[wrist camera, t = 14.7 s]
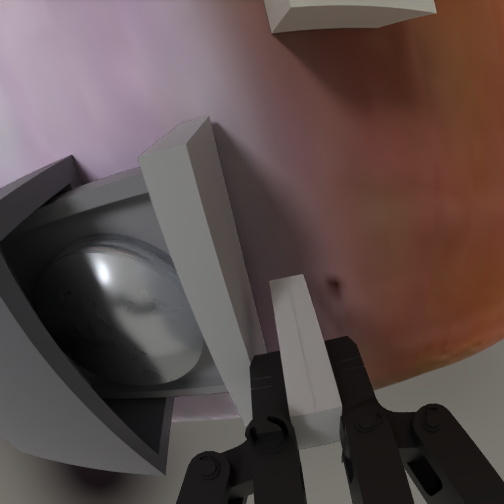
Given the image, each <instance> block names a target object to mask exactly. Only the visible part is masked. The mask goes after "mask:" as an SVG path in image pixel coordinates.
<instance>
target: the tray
mask: <svg viewBox="0 0 504 504" xmlns="http://www.w3.org/2000/svg"><path fill="white" fill-rule="evenodd" d="M138 161H139V164H140V167H137V168H133V169H130V170H127V171H124V172H120V173H117V174H114V175H111V176H108V177H105V178H102V179H99V180H96V181H93V182H90V183H87V184H84V185H82V186H79V187H76V188H73V189H71V190H68V191H65V192H63V193H60V194H57V195H55V196H52V197H51V198H50V199H49V200H47V201H46V202H45V203H44V204H42V205H41V206H40V207H39V208H38V209H36V210H35V211H34V212H33V213H32V214H30V215H29V216H28V217H27V218H26V219H25V220H23V221H22V222H21V223H20V224H19V225H18V226H17V227H16V228H14V229H13V230H12V231H11V232H10V233H9V234H8V235H7V236H6V237H5V238H4V239H2V240H1V241H0V252H1V254H2V256H3V258H4V260H5V262H6V264H7V266H8V268H9V270H10V271H11V273H12V275H13V277H14V279H15V280H16V282H17V284H18V286H19V287H20V289H21V291H22V292H23V294H24V296H25V297H26V299H27V301H28V302H29V304H30V305H31V307H32V309H33V310H34V312H35V313H36V315H37V316H38V318H39V319H40V321H41V318H40V315H39V312H38V307H37V289H38V285H39V282H40V280H41V278H42V276H43V274H44V273H45V272H46V270H47V269H48V268H49V266H50V265H51V264H52V263H53V261H54V260H55V259H56V258H57V256H58V255H59V254H60V253H61V251H62V250H63V249H64V248H66V247H67V246H68V245H69V244H70V243H72V242H74V241H75V240H77V239H80V238H82V237H85V236H89V235H93V234H103V233H110V234H121V235H126V236H130V237H134V238H137V239H140V240H143V241H145V242H147V243H149V244H152V245H154V246H156V247H157V248H159V249H161V250H162V251H164V252H166V253H167V254H168V255H170V256H171V258H172V260H173V263H174V266H175V268H176V271H177V273H178V276H179V279H180V281H181V284H182V286H183V289H184V291H185V294H186V296H187V299H188V301H189V304H190V306H191V309H192V311H193V314H194V316H195V318H196V321H197V323H198V325H199V328H200V330H201V333H202V335H203V337H204V340H203V348H202V353H201V355H200V358H199V360H198V362H197V363H196V364H195V366H194V367H193V368H192V369H191V370H190V371H189V372H188V373H186V374H185V375H184V376H182V377H180V378H178V379H176V380H174V381H171V382H168V383H164V384H159V385H147V386H141V385H130V384H124V383H119V382H115V381H112V380H109V379H106V378H103V377H101V376H99V375H96V374H94V373H92V372H90V371H88V370H87V369H85V368H83V367H82V366H80V365H79V364H77V363H76V362H74V361H73V360H72V359H71V358H69V357H68V356H67V355H66V354H65V353H64V352H63V351H62V350H61V351H62V352H63V353H64V355H65V356H66V357H67V358H68V360H69V361H70V362H71V364H72V365H73V366H74V367H75V369H76V370H77V371H78V372H79V374H80V375H81V376H82V377H83V378H84V380H85V381H86V382H87V383H88V384H89V385H90V387H91V388H92V389H93V390H94V391H95V392H96V393H97V395H98V396H99V397H100V398H101V399H132V398H161V397H178V396H191V395H203V394H213V393H222V392H229V394H230V396H231V399H232V401H233V403H234V405H235V407H236V409H237V411H238V413H239V415H240V417H241V419H242V421H243V423H244V425H245V427H247V426H248V424H249V423H250V421H251V420H252V403H251V386H250V369H249V367H250V364H251V362H252V360H253V357H254V355H259V354H265V353H267V349H266V346H265V342H264V338H263V334H262V330H261V326H260V322H259V318H258V314H257V310H256V306H255V302H254V298H253V294H252V290H251V286H250V282H249V278H248V274H247V270H246V266H245V262H244V258H243V254H242V250H241V245H240V241H239V237H238V233H237V229H236V225H235V221H234V217H233V213H232V209H231V205H230V200H229V196H228V192H227V188H226V184H225V180H224V176H223V171H222V167H221V163H220V159H219V155H218V150H217V146H216V142H215V138H214V134H213V129H212V125H211V121H210V117H209V116H206V117H202V118H198V119H194V120H190V121H186V122H183V123H181V124H180V125H178V126H177V127H176V128H174V129H173V130H172V131H170V132H169V133H168V134H166V135H165V136H164V137H162V138H161V139H160V140H159V141H157V142H156V143H155V144H153V145H152V146H151V147H150V148H148V149H147V150H146V151H145V152H144V153H142V154H141V155H140V156H139V157H138ZM41 322H42V321H41ZM42 324H43V323H42Z"/></svg>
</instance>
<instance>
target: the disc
mask: <svg viewBox="0 0 504 504" xmlns="http://www.w3.org/2000/svg"><path fill="white" fill-rule="evenodd" d="M37 307H38V312H39V315H40V318H41V321H42V323H43V325H44V327H45V328H46V330H47V331H48V333H49V334H50V335H51V337H52V338H53V340H54V341H55V342H56V344H57V345H58V347H59V348H60V349H61V350H62V351H63V352H64V353H65V354H66V355H67V356H68V357H69V358H71V359H72V360H73V361H74V362H76V363H77V364H79V365H80V366H82V367H83V368H85V369H87V370H88V371H90V372H92V373H94V374H96V375H99V376H101V377H103V378H106V379H109V380H112V381H115V382H119V383H124V384H130V385H141V386H147V385H159V384H164V383H168V382H171V381H174V380H176V379H178V378H180V377H182V376H184V375H185V374H186V373H188V372H189V371H190V370H191V369H192V368H193V367H194V366H195V364H196V363H197V362H198V360H199V358H200V355H201V353H202V348H203V340H204V337H203V335H202V333H201V330H200V328H199V325H198V323H197V321H196V318H195V316H194V314H193V311H192V309H191V306H190V304H189V301H188V299H187V296H186V294H185V291H184V289H183V286H182V284H181V281H180V279H179V276H178V273H177V271H176V268H175V266H174V263H173V260H172V258H171V256H170V255H168V254H167V253H166V252H164V251H162V250H161V249H159V248H157V247H156V246H154V245H152V244H149V243H147V242H145V241H143V240H140V239H137V238H134V237H130V236H126V235H121V234H110V233H103V234H93V235H89V236H85V237H82V238H80V239H77V240H75V241H74V242H72V243H70V244H69V245H68V246H67V247H66V248H64V249H63V250H62V251H61V253H60V254H59V255H58V256H57V258H56V259H55V260H54V261H53V263H52V264H51V265H50V266H49V268H48V269H47V270H46V272H45V273H44V274H43V276H42V278H41V280H40V282H39V285H38V289H37Z"/></svg>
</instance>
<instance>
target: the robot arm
mask: <svg viewBox="0 0 504 504" xmlns="http://www.w3.org/2000/svg"><path fill="white" fill-rule="evenodd" d="M269 284H270V290H271V296H272V302H273V309H274V315H275V322H276V328H277V334H278V341H279V347H280V351H276V352H271V353H265V354H259V355H254V357H253V360H252V362H251V364H250V367H249V369H250V386H251V403H252V420H251V421H250V423H249V424H248V426H247V427H246V432H245V436H246V438H247V440H246V441H245V442H244V443H243V444H241V445H239V446H238V447H235V448H233V449H231V450H228V451H225V452H223V453H218V452H215V451H205V452H202V453H200V454H198V455H196V456H195V457H194V458H193V459H192V460H191V462H190V464H189V466H188V468H187V471H186V474H185V478H184V481H183V484H182V487H181V490H180V493H179V496H178V499H177V502H176V504H246V502H247V497H248V495H251V494H253V493H254V502H255V504H307V501H306V493H305V486H304V480H303V473H302V467H301V462H300V456H299V450H300V449H306V448H311V447H316V446H321V445H325V444H330V443H334V442H338V441H340V440H341V444H342V449H343V450H342V462H344V465H345V470H346V475H347V479H348V484H349V489H350V494H351V499H352V503H353V504H414V501H413V497H412V494H411V490H410V487H409V483H408V480H407V476H406V473H405V470H406V471H407V473H408V474H409V476H410V477H411V479H412V481H413V482H414V483H415V485H416V487H417V488H418V490H419V491H420V493H421V494H422V496H423V498H424V499H425V501H426V502H427V504H504V482H503V480H502V479H501V478H500V476H499V475H498V474H497V472H496V471H495V469H494V468H493V467H492V466H491V464H490V463H489V461H488V460H487V459H486V457H485V456H484V455H483V453H482V452H481V451H480V450H479V448H478V447H477V446H476V444H475V443H474V442H473V440H472V439H471V438H470V437H469V435H468V434H467V433H466V431H465V430H464V429H463V428H462V426H461V425H460V424H459V423H458V422H457V420H456V419H455V418H454V416H453V415H452V414H451V413H450V411H449V410H448V409H446V408H445V407H444V406H442V405H439V404H427V405H425V406H423V407H421V408H420V409H419V410H418V411H417V412H392V411H389V410H386V409H385V408H383V407H382V406H381V405H380V404H379V403H378V401H377V399H376V397H375V394H374V391H373V388H372V385H371V383H370V380H369V377H368V374H367V372H366V369H365V367H364V364H363V361H362V358H361V356H360V353H359V350H358V348H357V345H356V344H355V343H354V342H353V341H352V340H351V339H350V338H349V337H348V336H344V337H340V338H336V339H331V340H327V341H324V340H323V337H322V333H321V330H320V327H319V323H318V320H317V317H316V313H315V310H314V307H313V304H312V300H311V297H310V294H309V291H308V288H307V285H306V281H305V278H304V275H303V274H300V275H295V276H290V277H285V278H280V279H275V280H270V281H269ZM404 468H405V470H404Z"/></svg>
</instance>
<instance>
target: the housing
mask: <svg viewBox="0 0 504 504" xmlns="http://www.w3.org/2000/svg"><path fill="white" fill-rule="evenodd" d="M79 186H82V183H81V181H80V178H79V175H78V172H77V169H76V166H75V163H74V160H73V157H72V155H70V156H68V157H65V158H63V159H61V160H58V161H56V162H54V163H52V164H49V165H47V166H45V167H43V168H41V169H38V170H36V171H34V172H32V173H30V174H28V175H26V176H24V177H22V178H20V179H18V180H16V181H14V182H12V183H10V184H8V185H6V186H4V187H3V188H1V189H0V241H1V240H2V239H4V238H5V237H6V236H7V235H8V234H9V233H10V232H11V231H12V230H13V229H14V228H16V227H17V226H18V225H19V224H20V223H21V222H22V221H23V220H25V219H26V218H27V217H28V216H29V215H30V214H32V213H33V212H34V211H35V210H36V209H38V208H39V207H40V206H41V205H42V204H44V203H45V202H46V201H47V200H49V199H50V198H51V197H52V196H55V195H57V194H60V193H63V192H65V191H68V190H71V189H73V188H76V187H79ZM173 402H174V397H161V398H132V399H101V398H100V397H99V396H98V395H97V393H96V392H95V391H94V390H93V389H92V388H91V387H90V385H89V384H88V383H87V382H86V381H85V380H84V378H83V377H82V376H81V375H80V374H79V372H78V371H77V370H76V369H75V367H74V366H73V365H72V364H71V362H70V361H69V360H68V358H67V357H66V356H65V355H64V353H63V352H62V351H61V349H60V348H59V347H58V345H57V344H56V342H55V341H54V340H53V338H52V337H51V335H50V334H49V333H48V331H47V330H46V328H45V327H44V325H43V324H42V322H41V321H40V319H39V318H38V316H37V315H36V313H35V312H34V310H33V309H32V307H31V305H30V304H29V302H28V301H27V299H26V297H25V296H24V294H23V292H22V291H21V289H20V287H19V286H18V284H17V282H16V280H15V279H14V277H13V275H12V273H11V271H10V270H9V268H8V266H7V264H6V262H5V260H4V258H3V256H2V254H1V252H0V436H1V437H2V438H3V439H5V440H6V441H7V442H8V443H9V444H10V445H12V446H13V447H14V448H16V449H17V450H18V451H21V452H24V453H27V454H31V455H34V456H38V457H42V458H46V459H50V460H54V461H58V462H63V463H67V464H72V465H77V466H83V467H89V468H95V469H102V470H109V471H116V472H125V473H135V474H149V475H166V465H167V455H168V444H169V435H170V426H171V418H172V410H173Z"/></svg>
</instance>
